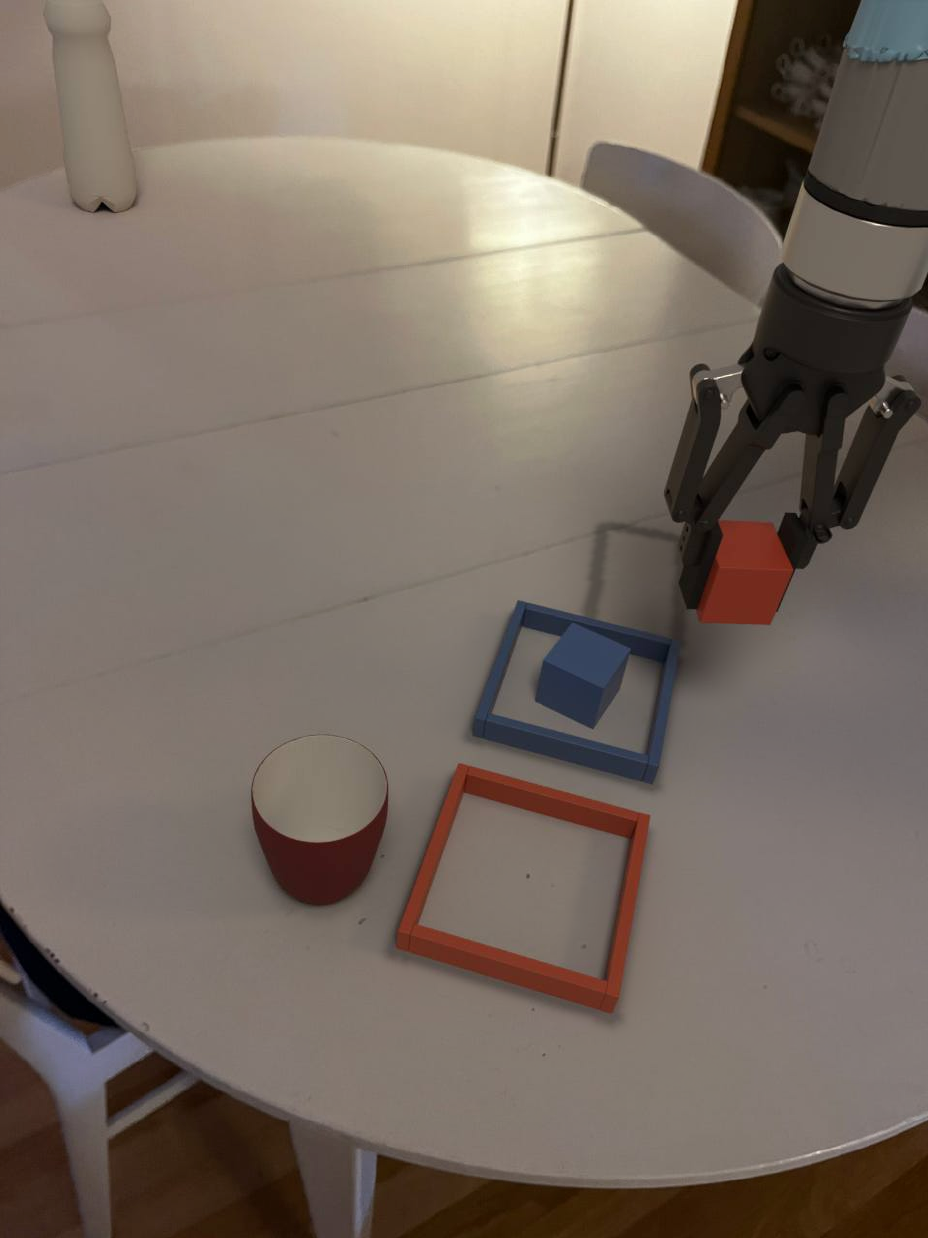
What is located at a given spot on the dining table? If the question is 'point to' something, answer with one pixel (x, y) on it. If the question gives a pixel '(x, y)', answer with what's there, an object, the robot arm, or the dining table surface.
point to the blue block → (582, 675)
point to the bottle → (90, 106)
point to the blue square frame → (567, 744)
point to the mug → (320, 815)
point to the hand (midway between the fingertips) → (727, 596)
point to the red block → (745, 575)
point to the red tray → (504, 962)
